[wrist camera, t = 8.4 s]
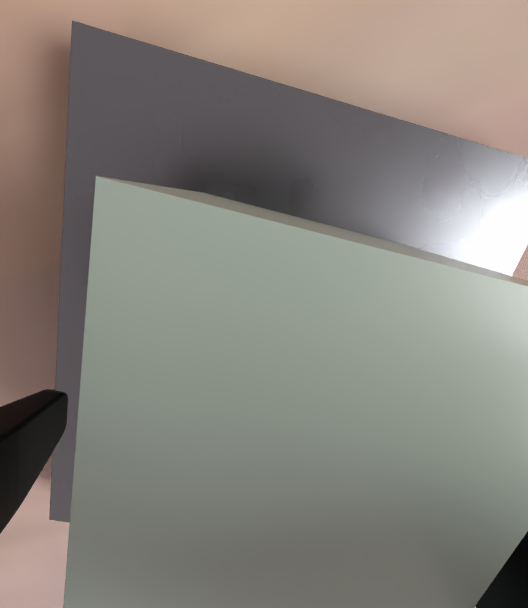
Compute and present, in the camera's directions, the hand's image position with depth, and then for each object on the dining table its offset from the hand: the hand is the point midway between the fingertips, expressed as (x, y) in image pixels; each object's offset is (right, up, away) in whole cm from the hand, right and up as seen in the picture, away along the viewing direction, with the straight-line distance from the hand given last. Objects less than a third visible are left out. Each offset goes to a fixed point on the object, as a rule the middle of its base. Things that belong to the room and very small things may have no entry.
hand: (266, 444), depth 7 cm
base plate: (0, +1, +4) cm, 5 cm away
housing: (0, +1, +3) cm, 3 cm away
